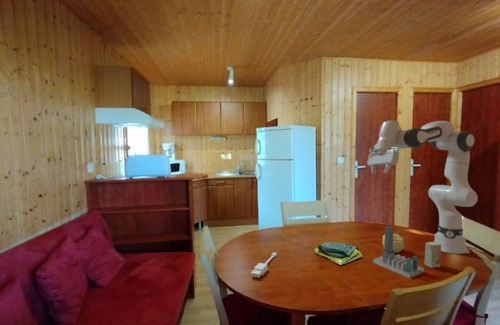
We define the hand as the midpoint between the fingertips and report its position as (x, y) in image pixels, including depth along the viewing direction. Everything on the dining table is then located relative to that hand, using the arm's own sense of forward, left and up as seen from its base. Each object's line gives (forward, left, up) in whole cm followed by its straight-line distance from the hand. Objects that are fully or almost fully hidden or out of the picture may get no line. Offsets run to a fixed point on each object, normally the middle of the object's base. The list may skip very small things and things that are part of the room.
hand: (379, 173), depth 141 cm
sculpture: (-26, +2, -50) cm, 56 cm away
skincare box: (-16, +23, -50) cm, 57 cm away
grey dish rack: (-3, +9, -50) cm, 51 cm away
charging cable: (+37, -48, -50) cm, 79 cm away
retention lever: (-5, +4, -43) cm, 44 cm away
